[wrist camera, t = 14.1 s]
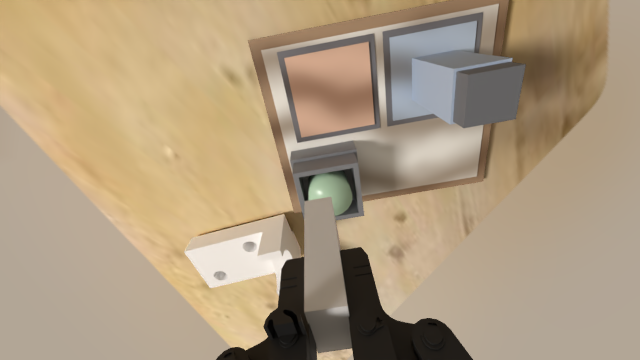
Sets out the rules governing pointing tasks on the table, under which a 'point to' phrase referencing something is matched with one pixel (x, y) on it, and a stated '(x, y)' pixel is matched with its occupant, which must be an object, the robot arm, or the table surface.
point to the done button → (331, 189)
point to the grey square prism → (467, 87)
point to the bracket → (244, 251)
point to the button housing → (328, 161)
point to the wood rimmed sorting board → (377, 94)
